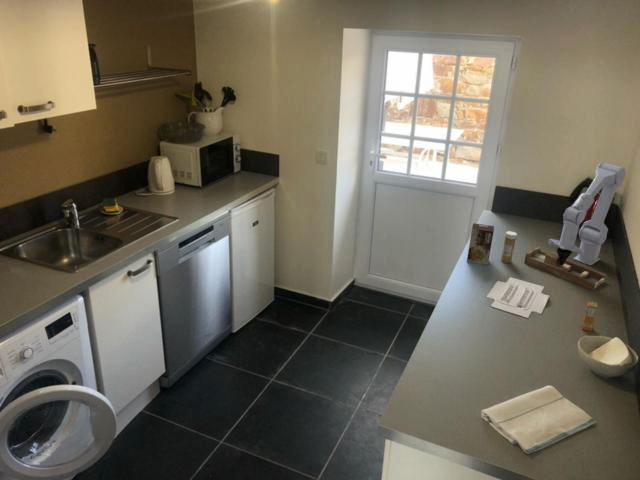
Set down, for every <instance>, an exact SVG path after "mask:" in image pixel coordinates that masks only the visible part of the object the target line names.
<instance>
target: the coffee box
mask: <svg viewBox="0 0 640 480" xmlns="http://www.w3.org/2000/svg"><path fill="white" fill-rule="evenodd" d="M494 231H495V225H488V224H487V225H486V224H480V223H472V227H471V232H470V233H471V234H470V240H469V245H468V252H467V257H466V262H467V263H473V264H479V265H485V266H488V265H489V259H490V255H491V249H492V243H493V238H494Z"/></svg>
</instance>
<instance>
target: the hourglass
mask: <svg viewBox="0 0 640 480" xmlns="http://www.w3.org/2000/svg"><path fill="white" fill-rule="evenodd" d="M597 311H598V302H593V301H587V306H586V309H585V313H584V316H583V317H584V318H583V320H582V325H581V330H583V329H584V331H587V330H588V332H592V330H593V328H594V323H595V320H596V316H597V315H596V314H597Z"/></svg>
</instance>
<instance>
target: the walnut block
mask: <svg viewBox="0 0 640 480" xmlns="http://www.w3.org/2000/svg"><path fill="white" fill-rule="evenodd" d="M546 253H547V254H546V256H545V260H544V263H547V264H549V265H552V266H555V267H556V266H557V265H559V256H558V253H557V252H555V251H553V250H552V251H549V252H546Z"/></svg>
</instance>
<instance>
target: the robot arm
mask: <svg viewBox="0 0 640 480" xmlns="http://www.w3.org/2000/svg"><path fill="white" fill-rule="evenodd" d="M626 171H627V170H626V168H625V167H621V166H618V165H614V164H611V163H606V162H604V161H601V162H600V163H599V164H597V167H596V170H595V172H594V179H593V180H592V182H591V184H590V185H589V187H587V190H586V191H585V192H583V193H581V194H579V196H578V197H577V199H575V201H574V203H572V205H571V206H569V207H567V208H566V209H565V211H564V213H563V214H562V216H563V217H562V218H563V221H562V223H563V226H562V231H561V235H560V238H559V240H558V239H553V238H549V239H548V242H547V243H548V245H553V246H555V247H558V248H556V253H557V254H558V256H559V265H564V263H565V261H566V260H567V259H568V258H569V257H570V256H571V254H572V253H574V254H577V255H576V256H574V257H573V258H572V259H573V260H574V261H575V260H576V261H577V262H581V263H583V264H585V265H588V266H592V265H594V264H595V263H596V262H598V261H600V259H601V258H599V256H600V251H601V248H602V245H603V244H604V243H605V241H606V239H607V237H608V236H607V235H608V232H609V228H608V227H607V225H606V224H605V219H606V217H607V214H608V212H609V209H610V206H611V204H612V201H613V199H614V197H615V193H616V191H617V188H618V187H621V186H622V184H623V182H624V180H625V177H626V174H627V172H626ZM599 192H600V195H599V198H598V200H597V203H596V206H595V208H594V212H593V214H592V216H591V219H589V220H587V221H585V217H586V215H587V211H588V210H589V209H590V208H591V206H592V205H593V204H594V203H595V196H596V195H597V194H598V193H599ZM583 221H585V222H583ZM581 223H583V224H582V226H581V228H580V224H581ZM577 236H579V238H580V239H579V241H581V242H580V246H579V247H578V246H576V245H575V244H576V239H577Z"/></svg>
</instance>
